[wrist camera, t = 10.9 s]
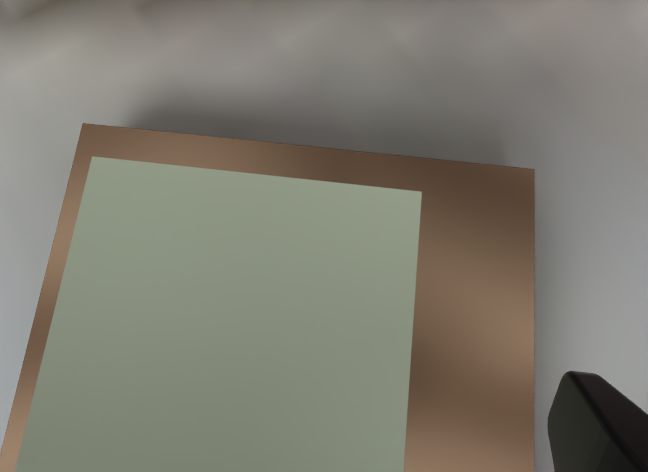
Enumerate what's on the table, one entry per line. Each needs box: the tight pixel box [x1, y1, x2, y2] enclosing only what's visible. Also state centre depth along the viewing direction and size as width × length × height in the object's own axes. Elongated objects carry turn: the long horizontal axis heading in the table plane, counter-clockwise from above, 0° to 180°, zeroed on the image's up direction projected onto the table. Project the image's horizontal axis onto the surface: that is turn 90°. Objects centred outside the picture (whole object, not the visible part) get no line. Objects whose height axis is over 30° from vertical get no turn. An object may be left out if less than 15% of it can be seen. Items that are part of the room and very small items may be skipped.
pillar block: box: [15, 156, 422, 472], centre depth 12 cm, size 4×4×9 cm
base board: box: [0, 123, 534, 472], centre depth 17 cm, size 14×14×2 cm
